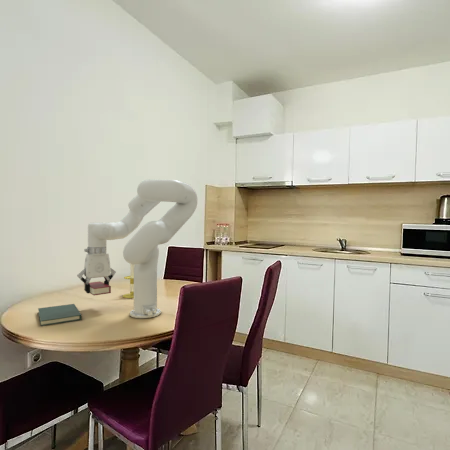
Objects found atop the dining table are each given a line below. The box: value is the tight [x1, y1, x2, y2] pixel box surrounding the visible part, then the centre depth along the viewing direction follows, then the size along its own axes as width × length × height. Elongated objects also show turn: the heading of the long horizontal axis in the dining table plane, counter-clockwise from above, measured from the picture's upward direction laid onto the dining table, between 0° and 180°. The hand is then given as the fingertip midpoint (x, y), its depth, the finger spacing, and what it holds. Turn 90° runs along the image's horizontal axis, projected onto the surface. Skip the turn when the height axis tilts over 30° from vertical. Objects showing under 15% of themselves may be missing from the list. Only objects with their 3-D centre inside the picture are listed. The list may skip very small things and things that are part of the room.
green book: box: [37, 303, 82, 327], centre depth 133 cm, size 20×14×2 cm
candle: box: [122, 263, 135, 299], centre depth 168 cm, size 10×10×27 cm
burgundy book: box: [83, 281, 112, 296], centre depth 140 cm, size 13×7×3 cm, turn 41°
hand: (97, 291), depth 140 cm, fingers closed on burgundy book, 7 cm apart
